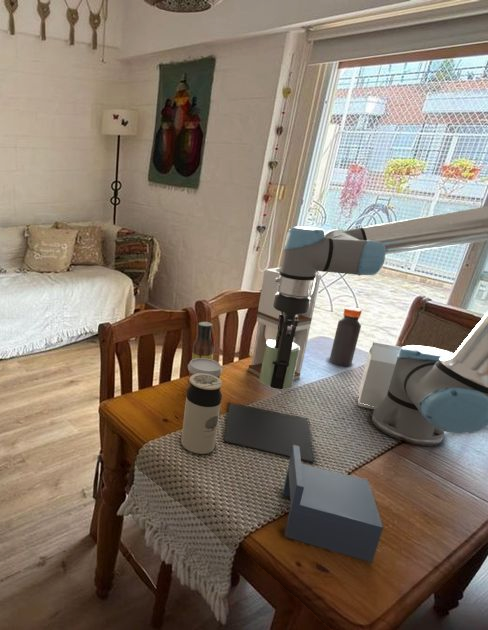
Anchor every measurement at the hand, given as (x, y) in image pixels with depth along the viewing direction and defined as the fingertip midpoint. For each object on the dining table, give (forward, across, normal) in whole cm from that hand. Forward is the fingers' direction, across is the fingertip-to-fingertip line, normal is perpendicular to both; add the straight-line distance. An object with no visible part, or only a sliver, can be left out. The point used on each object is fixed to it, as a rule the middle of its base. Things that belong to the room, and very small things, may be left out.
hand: (275, 380), depth 110 cm
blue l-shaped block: (+15, +30, +10) cm, 35 cm away
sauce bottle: (+15, -20, -20) cm, 32 cm away
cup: (0, 0, 0) cm, 0 cm away
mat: (+15, 0, 0) cm, 15 cm away
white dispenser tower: (+15, -36, +2) cm, 39 cm away
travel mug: (+15, +14, -16) cm, 26 cm away
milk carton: (+15, -27, +29) cm, 42 cm away
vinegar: (+15, -56, +24) cm, 63 cm away
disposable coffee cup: (+15, -8, -18) cm, 25 cm away
